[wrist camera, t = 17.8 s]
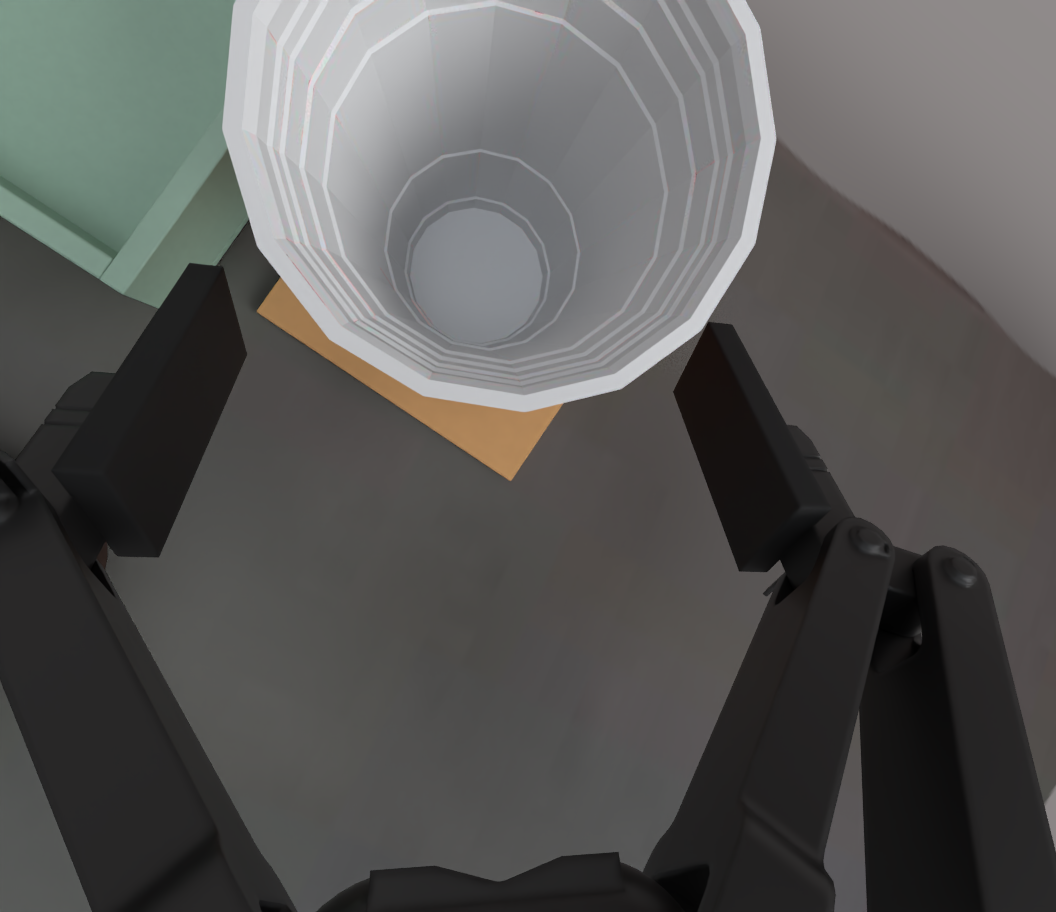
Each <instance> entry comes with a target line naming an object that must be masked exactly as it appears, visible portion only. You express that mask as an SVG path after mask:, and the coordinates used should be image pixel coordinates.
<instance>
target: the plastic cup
mask: <svg viewBox="0 0 1056 912" xmlns="http://www.w3.org/2000/svg"><path fill="white" fill-rule="evenodd" d="M222 130H223V134H224V137H225V140H226V144H227V147H228V150H229V154H230V157H231V160H232V164H233V167H234V170H235V174H236V177H237V180H238V184H239V187H240V190H241V194H242V197H243V200H244V204H245V207H246V210H247V214H248V217H249V220H250V224H251V227H252V230H253V234H254V237H255V240H256V244H257V247H258V248H259V249H260V251H261V252H262V253H263V255H264V256H265V257H266V258H267V260H268V261H269V262H270V264H271V265H272V266H273V267H274V269H275V270H276V271H277V273H278V274H279V275H280V277H281V278H282V279H283V280H284V282H285V283H286V284H287V286H288V287H289V288H290V289H291V291H292V292H293V293H294V295H295V296H296V297H297V299H298V300H299V301H300V302H301V304H302V305H303V306H304V308H305V309H306V310H307V311H308V313H309V314H310V315H311V317H312V318H313V319H314V320H315V322H316V323H317V324H318V326H319V327H320V328H321V330H322V331H323V332H324V333H325V335H326V336H327V337H328V339H329V340H331V341H333V342H334V343H336V344H338V345H339V346H341V347H343V348H344V349H346V350H348V351H349V352H351V353H352V354H354V355H356V356H357V357H359V358H361V359H362V360H364V361H366V362H367V363H369V364H371V365H372V366H374V367H376V368H377V369H379V370H381V371H382V372H384V373H386V374H387V375H389V376H391V377H392V378H394V379H396V380H397V381H399V382H401V383H402V384H404V385H406V386H407V387H409V388H411V389H412V390H414V391H416V392H417V393H419V394H421V395H422V396H426V397H432V398H438V399H444V400H451V401H457V402H463V403H469V404H476V405H482V406H488V407H495V408H501V409H507V410H513V411H520V412H529V411H533V410H537V409H541V408H545V407H549V406H553V405H557V404H562V403H566V402H570V401H574V400H578V399H582V398H586V397H590V396H595V395H599V394H603V393H607V392H611V391H615V390H619V389H622V388H623V387H625V386H626V385H627V384H629V383H630V382H632V381H633V380H634V379H636V378H637V377H638V376H640V375H641V374H642V373H644V372H645V371H647V370H648V369H649V368H651V367H652V366H653V365H655V364H656V363H657V362H659V361H660V360H662V359H663V358H664V357H666V356H667V355H668V354H670V353H671V352H672V351H674V350H675V349H677V348H678V347H679V346H681V345H682V344H683V343H685V342H686V341H687V340H689V339H690V338H692V337H693V336H694V335H696V334H697V333H698V332H700V331H701V330H702V328H703V326H704V325H705V323H706V322H707V320H708V319H709V317H710V315H711V314H712V312H713V311H714V309H715V307H716V306H717V304H718V303H719V301H720V299H721V298H722V296H723V295H724V293H725V291H726V290H727V288H728V287H729V285H730V283H731V282H732V280H733V279H734V277H735V275H736V274H737V272H738V271H739V269H740V267H741V266H742V264H743V263H744V261H745V259H746V258H747V256H748V255H749V253H750V251H751V250H752V248H753V247H754V245H755V242H756V237H757V232H758V227H759V222H760V217H761V212H762V207H763V203H764V198H765V193H766V188H767V183H768V178H769V173H770V168H771V163H772V158H773V154H774V149H775V144H776V133H775V127H774V119H773V113H772V106H771V99H770V92H769V85H768V79H767V71H766V65H765V57H764V50H763V43H762V37H761V30H760V27H759V25H758V23H757V21H756V19H755V18H754V15H753V14H752V12H751V10H750V8H749V6H748V4H747V2H746V1H745V0H236V1H235V3H234V4H233V14H232V25H231V36H230V47H229V58H228V69H227V80H226V91H225V102H224V113H223V124H222Z"/></svg>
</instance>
